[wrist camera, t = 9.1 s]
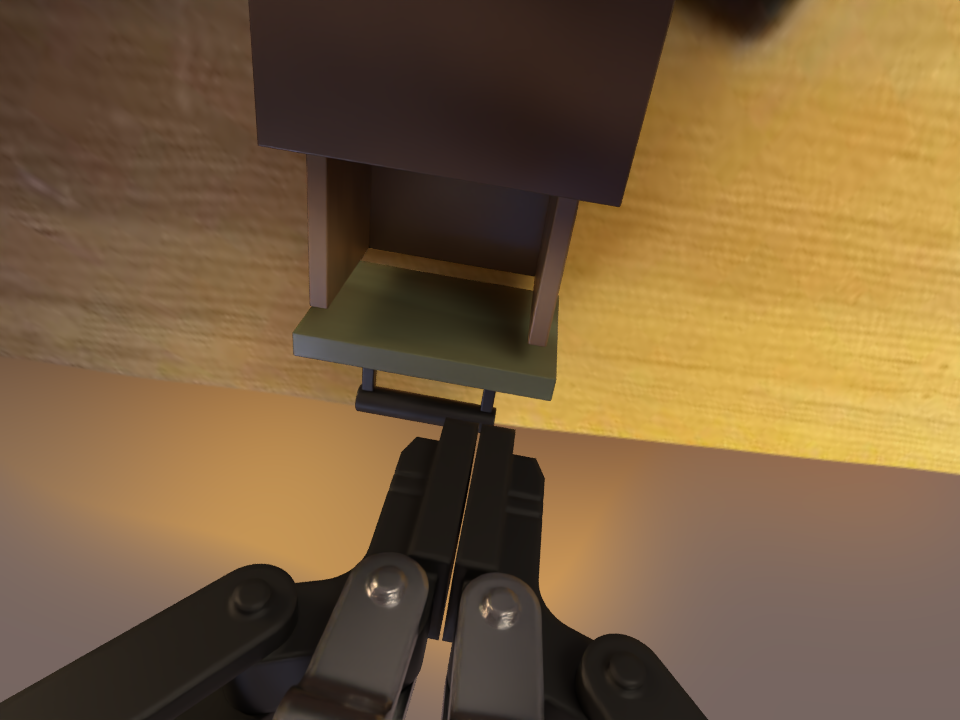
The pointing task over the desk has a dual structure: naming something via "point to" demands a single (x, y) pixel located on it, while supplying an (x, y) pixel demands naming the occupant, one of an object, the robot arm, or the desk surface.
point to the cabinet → (463, 87)
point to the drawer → (432, 286)
